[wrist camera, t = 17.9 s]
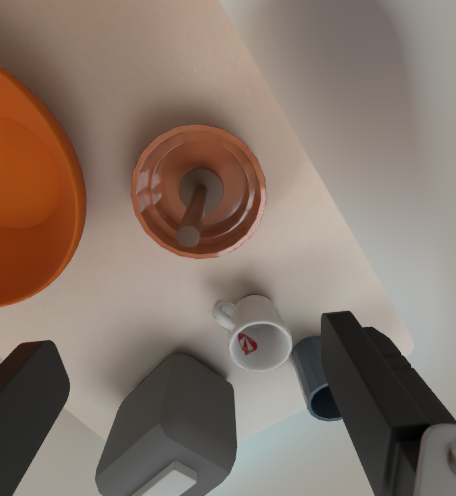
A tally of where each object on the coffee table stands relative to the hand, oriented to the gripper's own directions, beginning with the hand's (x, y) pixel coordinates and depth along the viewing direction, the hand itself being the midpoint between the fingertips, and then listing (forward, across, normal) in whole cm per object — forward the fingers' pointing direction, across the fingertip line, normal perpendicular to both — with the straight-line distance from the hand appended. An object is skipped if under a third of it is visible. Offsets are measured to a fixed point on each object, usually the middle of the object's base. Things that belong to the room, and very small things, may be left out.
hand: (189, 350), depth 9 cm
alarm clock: (+30, +11, +32) cm, 45 cm away
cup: (+30, -2, +18) cm, 36 cm away
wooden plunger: (+30, +2, 0) cm, 30 cm away
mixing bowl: (+30, +2, 0) cm, 30 cm away
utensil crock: (+30, -12, +28) cm, 43 cm away
